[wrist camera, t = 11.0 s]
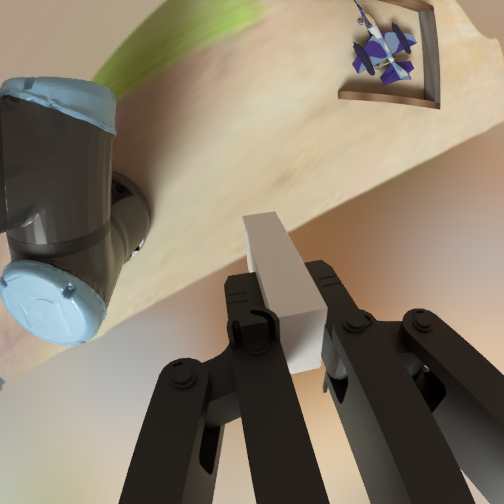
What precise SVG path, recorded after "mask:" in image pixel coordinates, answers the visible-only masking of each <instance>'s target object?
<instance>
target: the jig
mask: <svg viewBox="0 0 504 504" xmlns="http://www.w3.org/2000/svg"><path fill="white" fill-rule="evenodd" d="M379 1H383V2H387V3H391V4H394V5H398V6H401V7H404V8H408V9H411V10H414V11H417V12H418V13H419V20H420V28H421V38H422V49H423V64H424V100H422V99H416V98H409V97H402V96H394V95H385V94H376V93H364V92H350V91H338V99H347V100H365V101H378V102H389V103H398V104H406V105H414V106H421V107H428V108H434V109H440V65H439V50H438V39H437V30H436V22H435V15H434V8H433V6H432V5H429V4H427V3H424V2H421V1H419V0H379Z"/></svg>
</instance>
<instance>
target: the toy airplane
mask: <svg viewBox="0 0 504 504" xmlns="http://www.w3.org/2000/svg"><path fill="white" fill-rule="evenodd" d="M354 1H355V0H354ZM355 3H356V1H355ZM356 4H357V3H356ZM357 6H358V8H359V10H360V12H361V15H362V17H363V19H364V21H362V20H361V19H358V23H359V24H360V25H363V24H366V27H367V29H368V32H369V34H370V37H371V38H370V39H369V41H368V42H367V43H366V45H365V46H364V48H363V49H362V48H361V46H360V45H359V44H356V43H355V42H354V46H353V48H354V50H355V52H356V54H357V58H356V59H355V61H354V62H353V63H352V65H353V66H354V68H355V70H356V71H357V73H361V72H363V71H365V70H367V71H368V73H369V74H370V75H372V76H373V75H375V71H374V68H375V69H377V70H378V69H379V67H381V66H383V65H386V64H388V63H391V65H390V66H389V67H388V68H387V69H386V71H385V72H384V73H383V74H382V76H381V77H380V78H381V80H382V82H383V84H384V85H386V84H389V83H392V82H395V81H398V80H403V79H405V80H411V77H410V75H409V72H411V71H412V70H413V69H414V67H413V65H412V63H411V61H403V62H395V59H396V58H397V57H394V56H393V55H394V54H396V53H398V52H400V51H402V50H405V51H406V53H407V54H410V53H411V50H410V46H412V45H414V44H416V43H417V42H416V40H415V38H414V36H413V35H412V34H407V33H402V32H401V30H400V29H399V28H398V26H397V25H394V24H393V23H392V26H391V27H392V29H393V32H380V30H379V28H378V26H377V24H376V23H375V21H374V20H373V18H372V17H371V16H370V15H368V14H366V13H365V12H364V11H363V9H362V8H361V7H360V6H359V5H358V4H357ZM363 22H365V23H363ZM387 58H388V60H389V61H390V62H388V63H385V64H383V65H380V66H378V65H377V64H378V63H379V62H381V61H383V60H385V59H387ZM373 66H374V68H373Z"/></svg>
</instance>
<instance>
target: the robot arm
mask: <svg viewBox="0 0 504 504" xmlns="http://www.w3.org/2000/svg"><path fill="white" fill-rule="evenodd" d="M115 116H116V97H115V94H114V92H113V91H112V90H111V89H110V88H109V87H107V86H105V85H102V84H99V83H95V82H91V81H85V80H79V79H71V78H61V77H37V78H35V77H28V78H27V77H17V78H11V79H8V80H5V81H4V82H3V83H2V85H1V88H0V234H1V233H3V232H6V234H7V239H8V245H9V250H10V254H11V262H10V263H9V264H8V265H7V266H5V268H4V270H3V275H2V277H1V279H0V294H1V298H2V301H3V303H4V305H5V307H6V309H7V310H8V312H9V313H10V314H11V316H12V317H13V318H14V319H15V320H16V321H17V322H18V323H19V324H20V325H21V326H22V327H23V328H25V329H26V330H28V331H29V332H30V333H32V334H33V335H35V336H37V337H39V338H41V339H43V340H45V341H48V342H50V343H54V344H58V345H65V346H75V345H80V344H83V343H85V342H86V341H88V340H91V339H92V338H93V337H94V336H95V335H96V334H97V332H98V330H99V328H100V326H101V323H102V321H103V320H104V319H105V317H106V312H107V307H108V305H109V302H110V299H111V296H112V293H113V290H114V287H115V285H116V282H117V279H118V277H119V274H120V271H121V269H122V266H123V265H124V264H125V263H126V262H128V261H129V260H130V259H132V258H133V257H134V256H135V255H136V254H137V253H138V252H139V251H140V249H141V248H142V246H143V244H144V242H145V240H146V237H147V235H148V232H149V227H150V212H149V208H148V204H147V202H146V199H145V197H144V195H143V194H142V192H141V191H140V189H139V188H138V187H137V186H136V185H135V184H134V183H133V182H132V181H130V180H129V179H128V178H126V177H124V176H123V175H120V174H118V173H115V172H112V162H113V147H114V137H116V134H117V132H116V130H115ZM242 219H243V228H244V236H245V245H246V254H247V262H248V269H249V273H245V274H238V275H232V276H228V279H227V280H226V283H225V285H224V289H225V297H226V305H227V313H228V323H227V333H228V337H229V345H228V346H227V348H226V350H225V351H223V352H222V353H221V354H220V355H218V356H217V357H215V358H213V359H210V360H208V361H206V362H203V363H201V362H200V361H198V360H196V359H191V358H181V359H177V360H174V361H172V362H170V363H169V364H168V365H166V366H165V367H164V368H163V370H162V371H161V373H160V375H159V377H158V380H157V383H156V386H155V389H154V392H153V395H152V398H151V401H150V404H149V406H148V410H147V412H146V415H145V419H144V421H143V424H142V428H141V431H140V434H139V437H138V440H137V443H136V446H135V449H134V453H133V456H132V459H131V463H130V466H129V469H128V473H127V476H126V479H125V482H124V486H123V489H122V493H121V496H120V500H119V504H212V501H213V494H214V489H215V483H216V476H217V470H218V464H219V458H220V452H221V446H222V440H223V434H224V428H225V424H226V423H228V422H231V421H233V420H235V419H237V418H239V417H241V419H242V425H243V431H244V437H245V443H246V448H247V455H248V460H249V466H250V472H251V477H252V482H253V488H254V493H255V498H256V503H257V504H330V503H329V500H328V496H327V493H326V490H325V487H324V483H323V480H322V477H321V473H320V470H319V467H318V463H317V460H316V457H315V453H314V450H313V447H312V444H311V441H310V437H309V434H308V431H307V427H306V424H305V421H304V417H303V414H302V411H301V407H300V404H299V401H298V398H297V394H296V391H295V388H294V384H293V381H292V378H291V375H290V374H294V373H298V372H303V371H307V370H311V369H316V368H320V365H321V359H322V360H323V362H324V364H325V367H326V372H325V378H324V383H323V393H325V392H327V388H329V391H330V393H331V396H332V399H333V401H334V404H335V407H336V409H337V412H338V415H339V417H340V420H341V423H342V425H343V428H344V431H345V433H346V436H347V438H348V441H349V444H350V447H351V450H352V452H353V455H354V458H355V461H356V463H357V466H358V469H359V472H360V475H361V477H362V480H363V483H364V486H365V488H366V491H367V494H368V497H369V500H370V503H371V504H475V501H474V499H473V497H472V494H471V492H470V490H469V488H468V485H467V483H466V481H465V479H464V476H463V474H462V472H461V470H462V471H463V472H464V473H465V475H466V476H467V477H468V478H469V479H470V480H471V481H472V483H473V484H474V485H475V486H476V487H477V489H478V490H479V491H480V492H481V493H482V495H483V496H484V497H485V498H486V499H487V501H488V502H489V503H490V504H504V375H503V374H502V373H501V372H500V371H498V369H496V368H495V367H494V366H493V365H492V364H491V363H490V362H489V361H488V360H487V359H486V358H485V357H484V356H483V355H481V354H480V353H479V352H478V351H477V350H476V349H475V348H474V347H473V346H471V345H470V344H469V343H468V342H467V341H466V340H464V338H462V337H461V336H460V335H459V334H458V333H457V332H456V331H454V330H453V329H452V328H451V327H450V326H449V325H447V324H446V323H445V322H444V321H442V320H441V319H440V318H439V317H438V316H437V315H435V314H434V313H432V312H431V311H429V310H425V309H412V310H410V311H408V312H407V313H406V314H405V315H404V317H403V321H377V320H376V319H375V318H374V317H373V316H372V315H371V314H370V313H368V312H366V311H364V310H361V309H358V307H357V306H356V304H355V302H354V301H353V299H352V298H351V296H350V295H349V293H348V291H347V290H346V288H345V287H344V285H343V284H342V283H341V281H340V279H339V277H337V274H336V273H335V271H334V270H333V268H332V267H331V266H330V265H328V264H327V263H325V262H324V261H322V260H318V261H312V262H306V263H303V261H302V259H301V257H300V255H299V253H298V251H297V250H296V248H295V246H294V244H293V242H292V241H291V239H290V237H289V235H288V233H287V232H286V230H285V228H284V226H283V225H282V223H281V221H280V219H279V217H278V216H277V214H276V212H268V213H261V214H254V215H247V216H242ZM425 365H426V366H427V367H428V368H429V369H427V368H426V367H425ZM460 469H461V470H460Z"/></svg>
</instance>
